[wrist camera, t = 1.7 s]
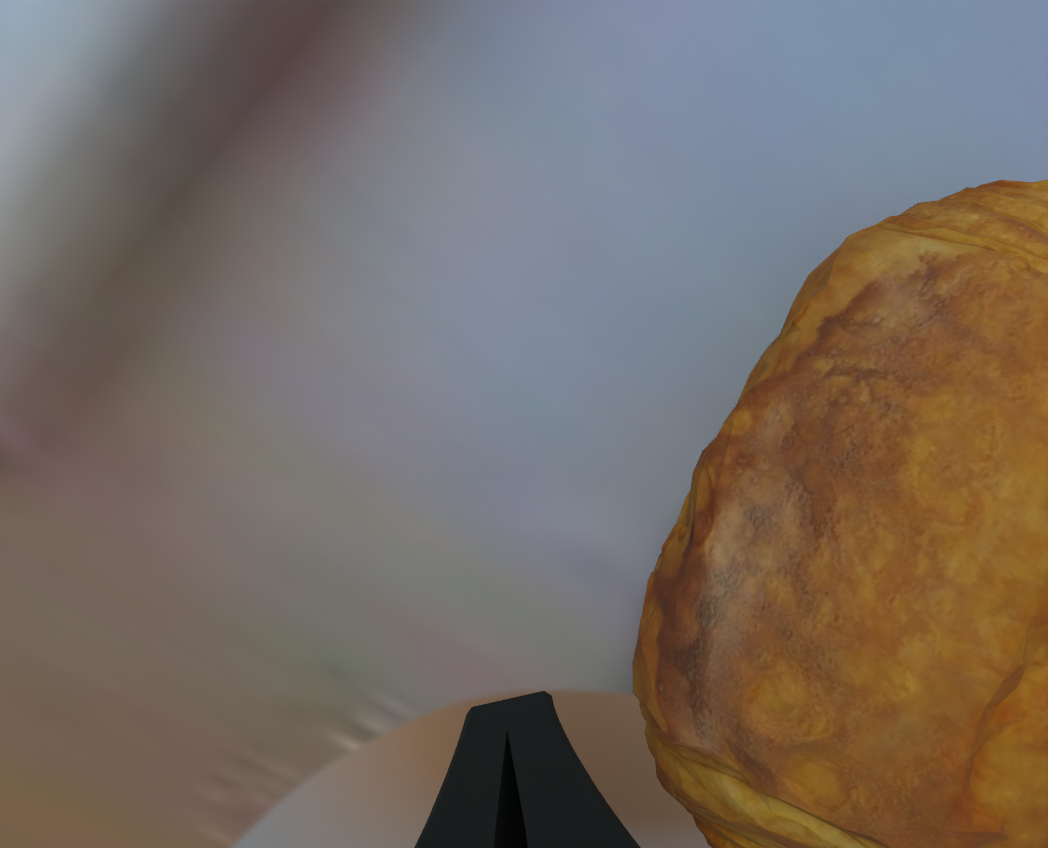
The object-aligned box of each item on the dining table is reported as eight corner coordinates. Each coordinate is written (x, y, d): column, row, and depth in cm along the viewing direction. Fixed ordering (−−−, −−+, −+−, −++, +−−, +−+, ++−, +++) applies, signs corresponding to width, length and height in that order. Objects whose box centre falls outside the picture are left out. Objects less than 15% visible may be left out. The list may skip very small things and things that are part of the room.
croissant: (498, 640, 17) (513, 953, 10) (855, 86, 14) (1285, -98, 7) (909, 839, 20) (1178, 1208, 12) (1281, 406, 17) (1938, 534, 9)
